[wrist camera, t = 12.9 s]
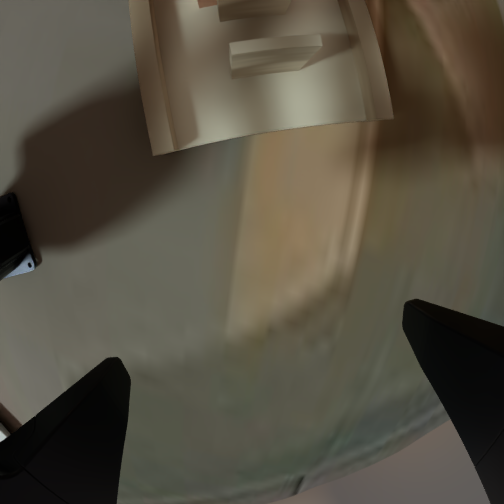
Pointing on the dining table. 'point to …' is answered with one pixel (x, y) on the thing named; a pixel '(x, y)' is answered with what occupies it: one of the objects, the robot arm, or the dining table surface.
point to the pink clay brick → (206, 3)
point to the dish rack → (254, 68)
